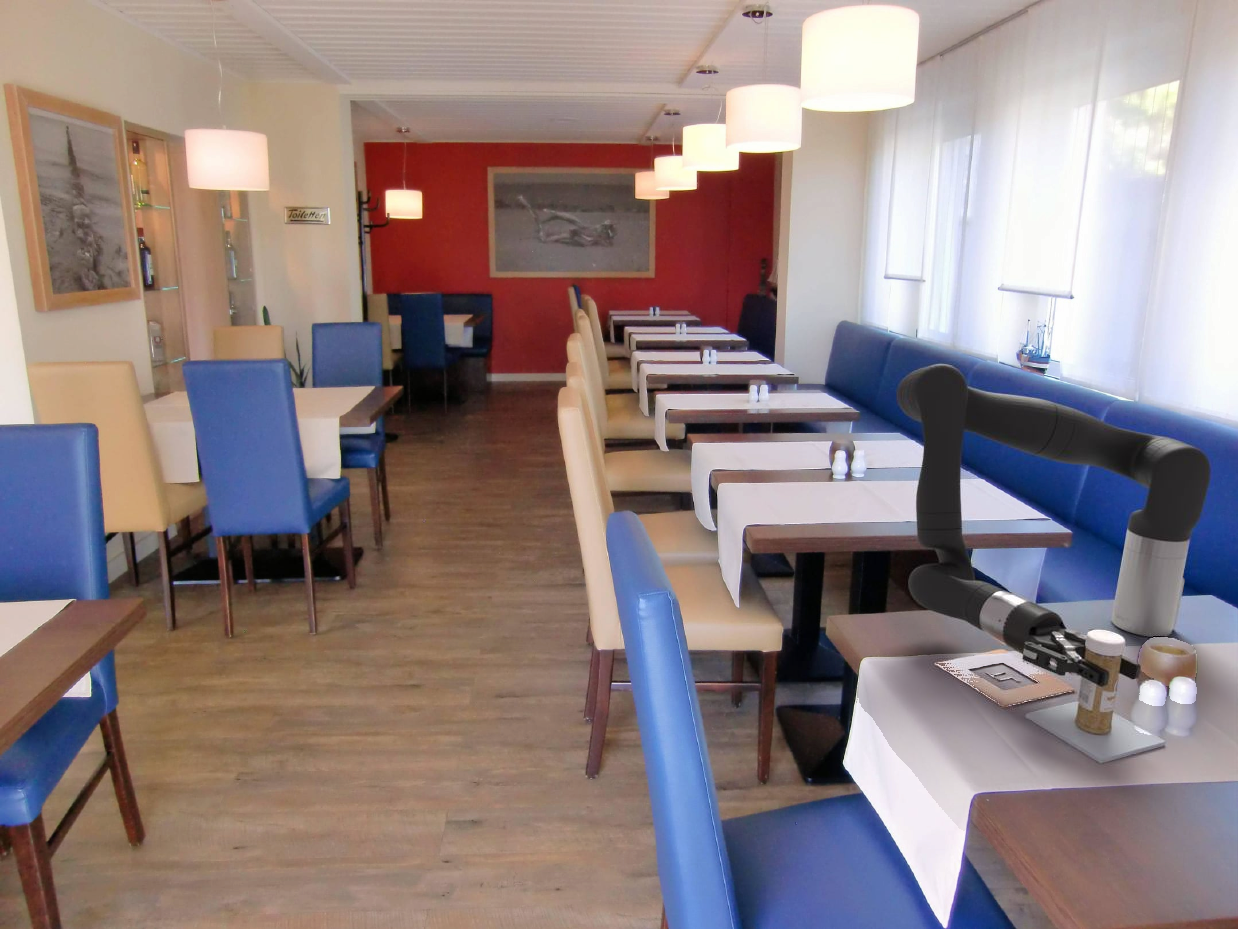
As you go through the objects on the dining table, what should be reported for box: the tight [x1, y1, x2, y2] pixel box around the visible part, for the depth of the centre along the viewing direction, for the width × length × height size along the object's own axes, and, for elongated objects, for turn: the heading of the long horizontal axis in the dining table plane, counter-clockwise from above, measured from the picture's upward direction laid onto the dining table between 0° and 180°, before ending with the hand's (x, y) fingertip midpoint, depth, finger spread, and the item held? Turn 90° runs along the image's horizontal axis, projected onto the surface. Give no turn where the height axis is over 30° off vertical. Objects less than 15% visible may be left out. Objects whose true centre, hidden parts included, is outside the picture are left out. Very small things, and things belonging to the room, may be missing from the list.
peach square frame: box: [936, 648, 1076, 708], centre depth 135 cm, size 14×14×1 cm
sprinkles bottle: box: [1075, 629, 1126, 734], centre depth 119 cm, size 5×5×13 cm
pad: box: [1025, 700, 1166, 765], centre depth 120 cm, size 12×12×1 cm
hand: (1122, 676), depth 116 cm, fingers open, 5 cm apart
